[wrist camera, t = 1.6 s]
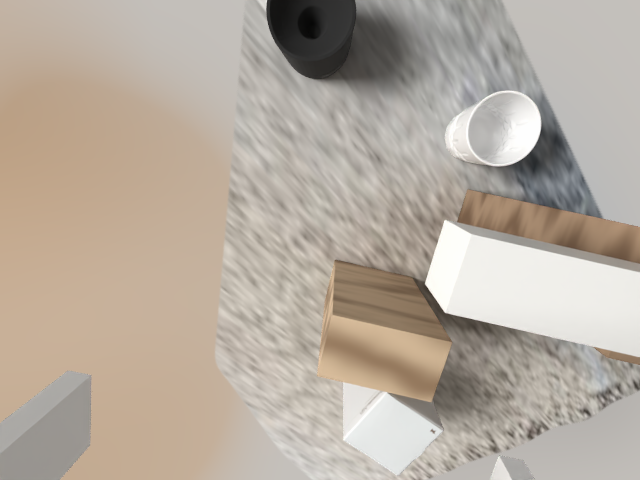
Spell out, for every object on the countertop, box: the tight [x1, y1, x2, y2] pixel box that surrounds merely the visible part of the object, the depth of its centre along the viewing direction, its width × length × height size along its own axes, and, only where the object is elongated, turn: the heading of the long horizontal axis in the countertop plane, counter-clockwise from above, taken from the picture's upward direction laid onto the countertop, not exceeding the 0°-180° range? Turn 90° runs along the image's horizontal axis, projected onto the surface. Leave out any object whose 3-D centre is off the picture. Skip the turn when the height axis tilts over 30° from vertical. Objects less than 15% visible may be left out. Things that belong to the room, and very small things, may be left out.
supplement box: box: [343, 382, 444, 476], centre depth 48 cm, size 9×9×15 cm
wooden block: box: [317, 260, 452, 402], centre depth 43 cm, size 7×12×19 cm, turn 78°
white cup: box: [445, 91, 541, 166], centre depth 41 cm, size 8×8×10 cm
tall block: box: [457, 190, 640, 365], centre depth 34 cm, size 8×14×30 cm, turn 78°
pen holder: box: [266, 0, 356, 78], centre depth 40 cm, size 9×9×10 cm
